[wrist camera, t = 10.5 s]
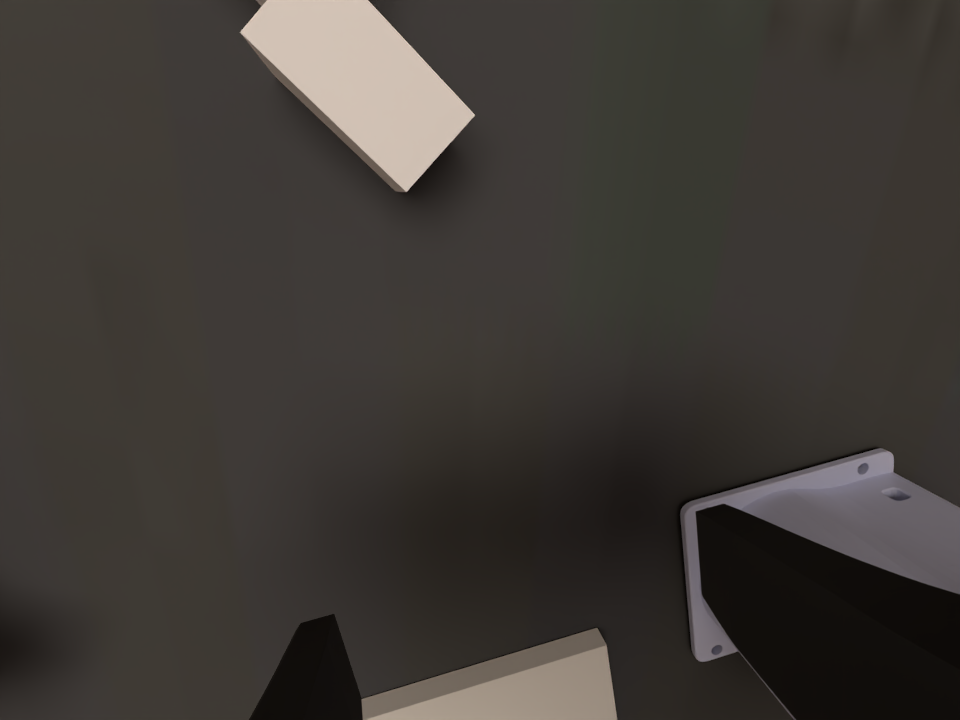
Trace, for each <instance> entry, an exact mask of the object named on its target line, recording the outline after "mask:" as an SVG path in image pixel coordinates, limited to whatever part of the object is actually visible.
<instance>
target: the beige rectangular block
mask: <svg viewBox="0 0 960 720" xmlns="http://www.w3.org/2000/svg"><path fill="white" fill-rule="evenodd" d="M256 1H257V2H258V3H259V4H260V5H261V6H262V7H261V8H260V9H259V10H258V12H257V13H256V14H255V15H254V16H253V18H252V19H251V20H250V21H249V22H248V23H247V25H246V26H245V27H244V28H243V29H242V31H241V32H240V33H241V34H242V35H243V37H244V38H245V39H246V40H247V42H248V43H249V44H250V46H251V47H252V48H253V49H254V51H255V52H256V53H257V54H258V56H259V57H260V58H261V60H262V61H263V62H264V63H265V65H266V66H267V67H268V68H269V70H270V71H271V72H272V74H273V75H274V76H275V77H276V78H277V79H278V80H279V81H280V82H281V83H282V84H283V85H284V86H285V87H287V88H288V89H289V90H290V91H291V92H292V93H293V94H294V95H295V96H296V97H297V98H298V99H299V100H300V101H301V102H302V103H303V104H304V105H305V106H306V107H307V108H309V109H310V110H311V111H312V112H313V113H314V114H315V115H316V116H317V117H318V118H319V119H320V120H321V121H322V122H323V123H324V124H325V125H326V126H327V127H328V128H330V129H331V130H332V131H333V132H334V133H335V134H336V135H337V136H338V137H339V138H340V139H341V140H342V141H343V142H344V143H345V144H346V145H347V146H348V147H349V148H350V149H352V150H353V151H354V152H355V153H356V154H357V155H358V156H359V157H360V158H361V159H362V160H363V161H364V162H365V163H366V164H367V165H368V166H369V167H370V168H371V169H373V170H374V171H375V172H376V173H377V174H378V175H379V176H380V177H381V178H382V179H383V180H384V181H385V182H386V183H387V184H388V185H389V186H390V187H391V188H392V189H394V190H395V191H396V192H407V191H408V190H409V189H410V188H411V186H412V185H413V184H414V183H415V182H416V181H417V180H418V179H419V177H420V176H421V175H422V174H423V173H424V172H425V171H426V170H427V168H428V167H429V166H430V165H431V164H432V163H433V162H434V161H435V159H436V158H437V157H438V156H439V155H440V154H441V153H442V152H443V150H444V149H445V148H446V147H447V146H448V145H449V144H450V143H451V142H452V140H453V139H454V138H455V137H456V136H457V135H458V134H459V133H460V131H461V130H462V129H463V128H464V127H465V126H466V125H467V124H468V122H469V121H470V120H471V119H472V118H473V117H474V116H475V115H474V114H473V112H472V111H471V110H470V109H469V108H468V107H467V106H466V105H465V104H464V103H463V102H462V101H461V100H460V99H459V97H458V96H457V95H456V94H455V93H454V92H453V91H452V90H451V89H450V88H449V87H448V86H447V85H446V83H445V82H444V81H443V80H442V79H441V78H440V77H439V76H438V75H437V74H436V73H435V72H434V71H433V70H432V68H431V67H430V66H429V65H428V64H427V63H426V62H425V61H424V60H423V59H422V58H421V57H420V56H419V54H418V53H417V52H416V51H415V50H414V49H413V48H412V47H411V46H410V45H409V44H408V43H407V42H406V41H405V39H404V38H403V37H402V36H401V35H400V34H399V33H398V32H397V31H396V30H395V29H394V28H393V27H392V25H391V24H390V23H389V22H388V21H387V20H386V19H385V18H384V17H383V16H382V15H381V14H380V13H379V12H378V10H377V9H376V8H375V7H374V6H373V5H372V4H371V3H370V2H369V1H368V0H256Z"/></svg>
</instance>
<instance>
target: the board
mask: <svg viewBox="0 0 960 720" xmlns="http://www.w3.org/2000/svg"><path fill="white" fill-rule="evenodd" d="M361 700H362V715H363V720H617V715H616V708H615V701H614V694H613V687H612V680H611V673H610V666H609V659H608V652H607V645H606V643H605V641H604V639H603V638H602V636H601V634H600V632H599V630H598V628H594V629H591V630H587V631H584V632H581V633H578V634H574V635H571V636H568V637H564V638H561V639H558V640H555V641H551V642H548V643H545V644H541V645H538V646H535V647H532V648H528V649H525V650H522V651H518V652H515V653H512V654H508V655H505V656H502V657H499V658H495V659H492V660H489V661H485V662H482V663H479V664H476V665H472V666H469V667H466V668H462V669H459V670H456V671H453V672H449V673H446V674H443V675H439V676H436V677H433V678H429V679H426V680H423V681H420V682H416V683H413V684H410V685H406V686H403V687H400V688H397V689H393V690H390V691H387V692H383V693H380V694H377V695H374V696H370V697H367V698H364V699H361Z"/></svg>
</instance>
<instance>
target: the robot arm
mask: <svg viewBox="0 0 960 720" xmlns="http://www.w3.org/2000/svg"><path fill="white" fill-rule="evenodd" d="M859 466H860V467H859ZM858 467H859V468H858ZM893 468H894V457H893V454H892V453H891V452H889V451H887V450H885V449H882V448H880V449H875V450H871V451H868V452H864V453H861V454H857V455H853V456H850V457H846V458H843V459H839V460H836V461H832V462H828V463H825V464H821V465H818V466H814V467H811V468H807V469H804V470H800V471H796V472H793V473H789V474H786V475H782V476H779V477H775V478H771V479H768V480H764V481H761V482H757V483H754V484H750V485H746V486H743V487H739V488H736V489H732V490H729V491H725V492H722V493H718V494H714V495H711V496H707V497H704V498H700V499H697V500H693V501H690V502H688V503H686V504H685V505H684V506H683V507H682V509H681V513H680V518H681V530H682V542H683V554H684V566H685V578H686V590H687V602H688V614H689V625H690V637H691V649H692V653H693V655H694V656H695V658H696V659H697V660H698V661H701V662H706V661H710V660H713V659H716V658H719V657H722V656H725V655H728V654H731V653H735V652H739V653H740V654H741V655H742V656H743V658H744V659H745V660H746V661H747V663H748V664H749V665H750V666H751V668H752V669H753V670H754V671H755V673H756V674H757V675H758V676H759V677H760V679H761V680H762V681H763V682H764V684H765V685H766V686H767V687H768V689H769V690H770V691H771V692H772V694H773V695H774V696H775V697H776V698H777V700H778V701H779V702H780V703H781V705H782V706H783V707H784V708H785V710H786V711H787V712H788V713H789V714H790V716H791V717H792V718H793V719H794V720H960V508H959V507H957V506H955V505H954V504H952V503H950V502H948V501H946V500H944V499H942V498H940V497H939V496H937V495H935V494H933V493H931V492H929V491H927V490H926V489H924V488H922V487H920V486H918V485H916V484H914V483H912V482H911V481H909V480H907V479H905V478H903V477H901V476H899V475H897V474H896V473H894V472H893ZM707 507H708V508H707ZM705 508H706V509H705ZM714 646H715V647H714ZM249 720H363V715H362V700H361V696H360V692H359V689H358V686H357V683H356V680H355V677H354V674H353V671H352V668H351V665H350V661H349V658H348V655H347V652H346V649H345V646H344V643H343V640H342V637H341V634H340V631H339V627H338V624H337V621H336V618H335V615H334V614H332V615H328V616H325V617H321V618H318V619H314V620H311V621H307V622H303V623H301V624H300V625H299V627H298V628H297V630H296V632H295V634H294V636H293V638H292V639H291V641H290V643H289V645H288V647H287V649H286V651H285V653H284V655H283V657H282V659H281V661H280V663H279V665H278V667H277V669H276V671H275V673H274V675H273V677H272V679H271V680H270V682H269V684H268V686H267V688H266V690H265V692H264V694H263V696H262V697H261V699H260V701H259V703H258V705H257V706H256V708H255V710H254V712H253V714H252V715H251V717H250V719H249Z"/></svg>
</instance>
